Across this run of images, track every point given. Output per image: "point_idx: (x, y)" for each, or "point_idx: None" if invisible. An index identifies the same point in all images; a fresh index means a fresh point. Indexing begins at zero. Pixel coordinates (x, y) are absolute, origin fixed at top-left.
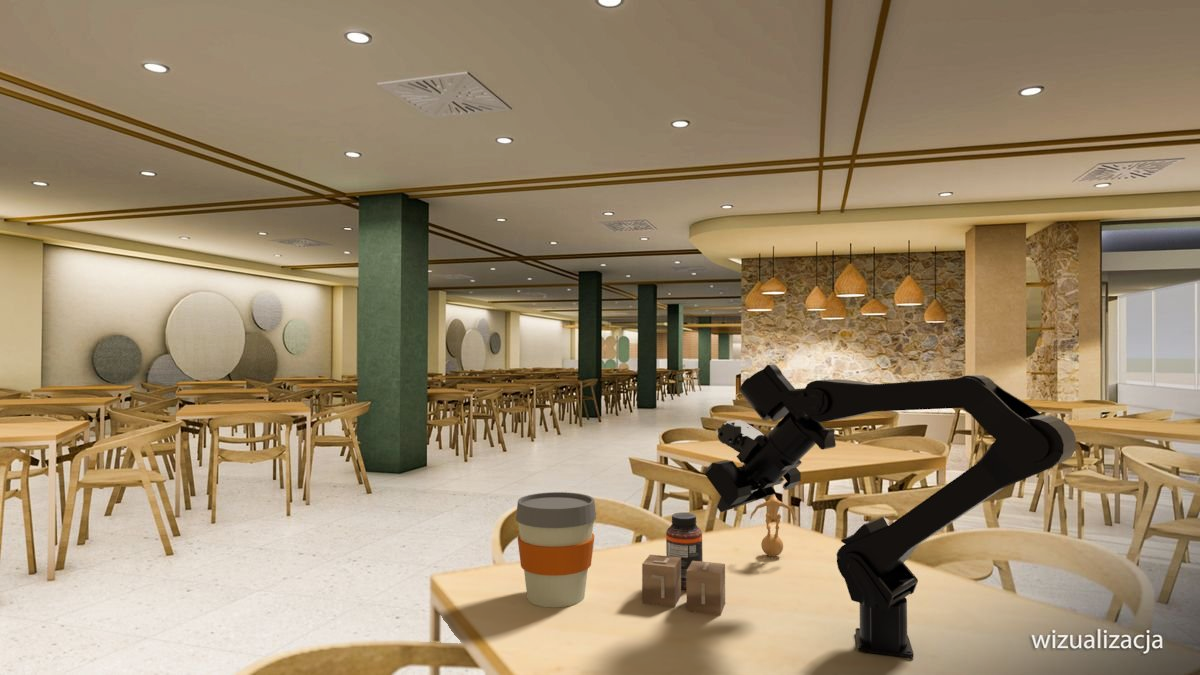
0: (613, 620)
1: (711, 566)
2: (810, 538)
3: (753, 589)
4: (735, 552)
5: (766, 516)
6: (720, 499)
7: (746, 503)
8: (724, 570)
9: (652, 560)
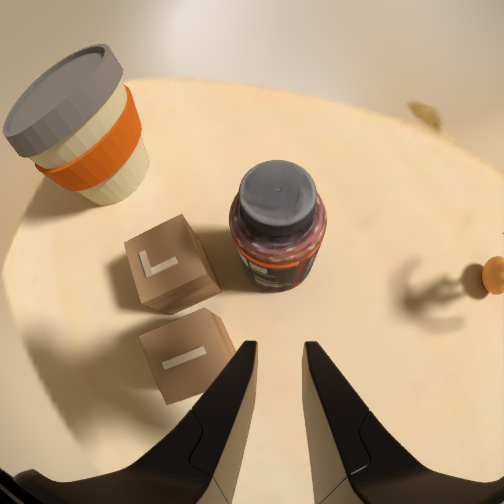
0: (88, 276)
1: (196, 365)
2: None
3: (344, 368)
4: (460, 227)
5: None
6: (220, 374)
7: (310, 461)
8: None
9: (151, 242)
